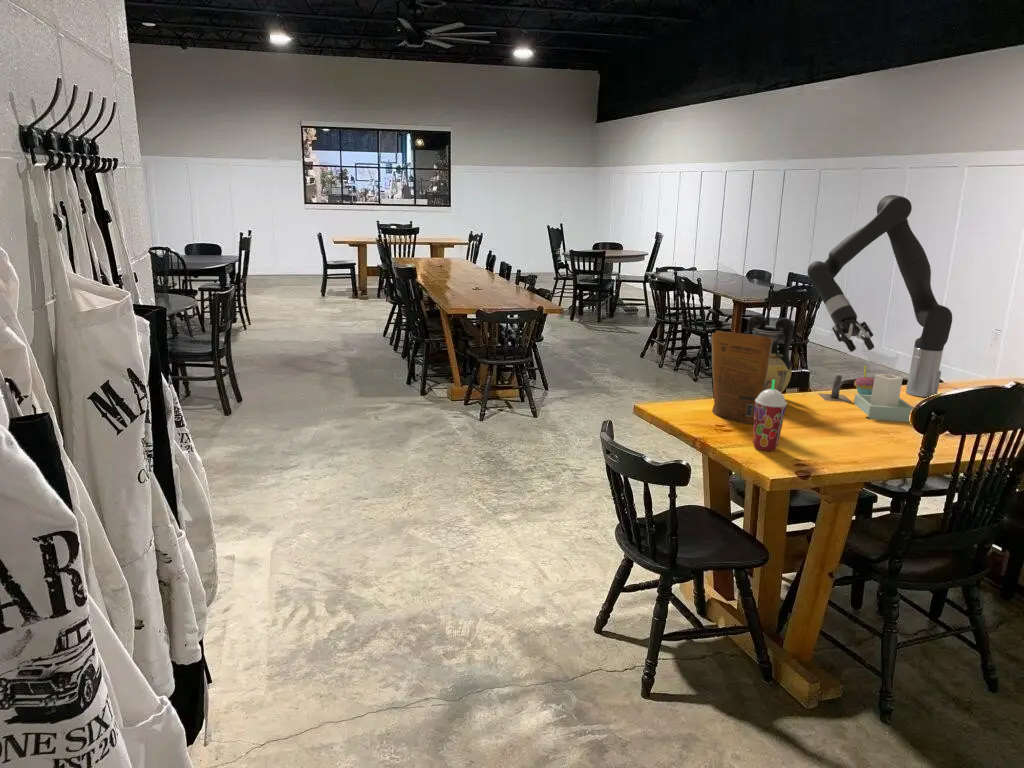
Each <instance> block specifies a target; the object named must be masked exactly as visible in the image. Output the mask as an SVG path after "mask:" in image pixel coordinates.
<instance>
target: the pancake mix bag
mask: <svg viewBox="0 0 1024 768" xmlns="http://www.w3.org/2000/svg"><path fill="white" fill-rule="evenodd" d="M710 337H711V338H710V343H711V364H712V366H711V367H712V369H711V371H712V388H713V389H712V392H713V403H714V404H713V407H712V410H711V412H712V414H714V415H715V416H716V415H717V416H716V417H720V418H725V419H727V420H732V421H735V422H736V421H737V422H739V423H743V424H747V425H754V412H755V399H756V398H757V397H758V395H759V394H760V393H761V392H762V391H763V389H764V384H765V381H766V376H767V371H768V364H769V359H770V355H771V349H772V343H773V340H772V339H771V338H769V337H764V336H759V335H756V334H753V335H751V334H747V333H741V332H740V333H739V332H730V331H725V330H724V331H722V330H715V332H712V333H711V336H710Z"/></svg>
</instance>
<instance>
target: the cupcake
mask: <svg viewBox="0 0 1024 768" xmlns="http://www.w3.org/2000/svg"><path fill="white" fill-rule="evenodd" d="M874 378H875V377H871V376H867V366H866V365H864V367H863V376H862V377H858V378H857V379H855V380H854V383H853V385H854V387H856V390H857V394H861V395H872V389H873V384H874Z"/></svg>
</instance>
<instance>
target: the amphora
mask: <svg viewBox="0 0 1024 768" xmlns="http://www.w3.org/2000/svg"><path fill="white" fill-rule="evenodd" d="M794 329H795V325H794V322H793V321H792V320H791V319H790V318H788V317H781V318H779V319H778V320H776V323H775V325H768V324H767V319H766V318H765V317H764V315H762V314H754V315H752V316H751V317H750V318H749V319H748V321H747V329H746V334H751V335H754V334H753V333H754V331H755V333H756V334H755V335H759V336H764V337H769V338H771V339H772V340H773V343H772V349H771V355H770V359H769V364H768V371H767V376H766V381H765V384H764V389H763V391H764V390H766V389H771V388H772V380H773V379H774V380H775V384H774V389H775V390H778V391H779V392H781V393H782V394H783V393H784V391H785V390H786V389H787V387H788V385H789V382H790V381H791V377H792V367H793V366H794V364H793V363H792V361H791V360H790V348H791V343H792V339H793V335H794V331H795V330H794ZM784 335H786V337H785V342H784V345H783V351H782V354H781V353H779V350H778V345H779V341H780V340H782V339H783V337H784Z"/></svg>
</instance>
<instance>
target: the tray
mask: <svg viewBox="0 0 1024 768" xmlns="http://www.w3.org/2000/svg"><path fill="white" fill-rule="evenodd" d="M853 400H854V402H853V404H854V405H855V406H856V407H857V408H858V409H859V410H861V411H862V412H863V413H864V414H865V415H867V416H865V418H866V419H867V420H870V419H876V420H875V421H886V420H887V421H886V422H888V420H889V422H901V421H902V423H905V422H906V423H910V422H909V415H910V412H911V410H912V409H913V408H915V407H913V406H912V405H911V404H909V403H908V402H906V401H905V400H904V399H902V398H901V397H899V401H898V407H890V406H874V405H871V404H870V401H871V395H862V394H859V393H855V395H854V399H853Z"/></svg>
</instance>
